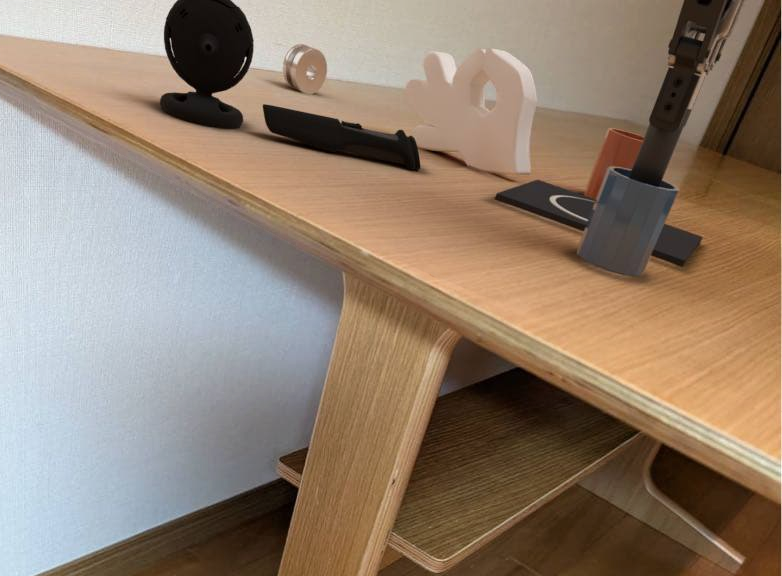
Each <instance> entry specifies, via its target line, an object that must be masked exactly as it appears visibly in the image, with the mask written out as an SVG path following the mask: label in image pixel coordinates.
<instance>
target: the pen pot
mask: <svg viewBox="0 0 782 576" xmlns="http://www.w3.org/2000/svg"><path fill="white" fill-rule="evenodd" d="M644 137H645V135H644V136H643V135H641V134H637V133H634V132H631V131H627V130H623V129H620V128H616V127H615V128H614V127H608V128H607V130H606V133H605V135H604V137H603V141H602V144H601V147H600V148H599V152H598V154H597V157H596V160H595V163H594V166H593V168H592V171H591V173H590V176H589V178H588V182H587V184H586V187H585V190H584V194H583V195H584V196H587V197H590V198H592V199H595V200H596V198H597V195H598V192H599V190H600V187H601V184H602V182H603V179H604V176H605V174H606V171H607V168H608V167H610V166H615V167H622V168H627V169H631V170H632V168H633V165H634V163H635V160H636V157H637V155H638V152H639V150H640V147H641V144H642V142H643V139H644Z"/></svg>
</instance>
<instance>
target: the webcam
mask: <svg viewBox="0 0 782 576" xmlns="http://www.w3.org/2000/svg"><path fill="white" fill-rule="evenodd" d="M254 42H255V40H254V36H253V31H252V27H251V25H250V23H249V21H248V19H247V16H246V14H245V13H244V11H243V10H242V9H241V7H240V6H238V5H237V4H236V3H235V2H233V0H176V1H175V2H174V3H173V5H172V7H171V8H170V10H169V11H168V13H167V15H166V18H165V22H164V26H163V44H164V50H165V53H166V56H167V59H168V61H169V63H170V66H171V67H172V69H173V70H174V72H175V73H176V74H177V76H178V77H179V78H180V79H181V80H182V81H183V82H184V83H186V84H187V85H188V86H190V87H191V88H193V89H194V90H195V91H188V92H174V91H173V92H166V93H163V94H162V95H161V97H160V99H159V105H160V109H161V110H162V111H163V112H164V113H166V114H167V115H169V116H171V117H174V118H175V119H179V120H182V121H185V122H188V123H191V124H196V125H200V126H205V127H209V128H216V129H224V130H235V129H238V128H240V127H241V126H242V125H243V122H244V116H243V113H242V111H241V110H240V109H238V108H236V107H235V106H233V105H231V104H228V103H225V102H223V101H222V100H220V99H219V98H218V97H215V96H214V95H213V94H216V93H222V92H225V91H229V90H230V89H232V88H234V87H235V86H237V85H238V84H239V83H240V82H241V81H242V80H243V79H244V78H245V76H246V75H247V73H248V72H249V68H250V66H251V64H252V62H253V58H254V57H253V56H254V49H255V48H254V47H255V46H254V45H255V43H254Z"/></svg>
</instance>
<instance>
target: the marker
mask: <svg viewBox="0 0 782 576" xmlns="http://www.w3.org/2000/svg"><path fill="white" fill-rule="evenodd" d="M670 67H671V68H673V66H670ZM695 75H698V76H701V77H700V79H699V82H698V84H697V87H696V89H695V92H694V94H693V97H692V99H691V101H690V104H689V106H688V109H687V111H686V114H685V116H684V119H683V121H682V124H681V126H680V128H679V129H678V130H676V131H674V132H669V131H666V130H663V129H659V128H656V127H653V126H651V124H650V123H649V124H648V126H647V128H646V132H645V134H644V139H643V142H642V144H641V147H640V150H639V152H638V155H637V157H636V160H635V163H634V165H633V168H632V170H631V173H630V176H629V178H631V179H634V180H637V181H640V182H643V183H646V184H649V185H653V186H657V187H659V186H660V184H661V181H662V180H664V176H665V173H666V171H667V169H668V167H669V164H670V162H671V159H672V157H673V154H674V151H675V150H676V147H677V145H678V142H679V140H680V137H681V135H682V133H683V130H684V128H685V127H684V125H685V122H686V120H687V117H688V115H689V113H690V110H691V109H692V110H693V108H694V106H695V104H694V102H695V103H696V101H697V99H696V97H697V98H698V96H699V94H698V92H699V93H700V91H701V89H700V87H701V88H702V86H703V84H704V81H705V79H706V76H707V75H706V70H704V72H703V74H702V75H700V74H696V73H695ZM704 78H705V79H704ZM703 80H704V81H703ZM702 83H703V84H702ZM701 85H702V86H701ZM699 90H700V91H699ZM697 95H698V96H697ZM695 100H696V101H695ZM693 105H694V106H693ZM692 107H693V108H692ZM690 114H691V113H690ZM685 126H686V125H685ZM683 127H684V128H683Z"/></svg>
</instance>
